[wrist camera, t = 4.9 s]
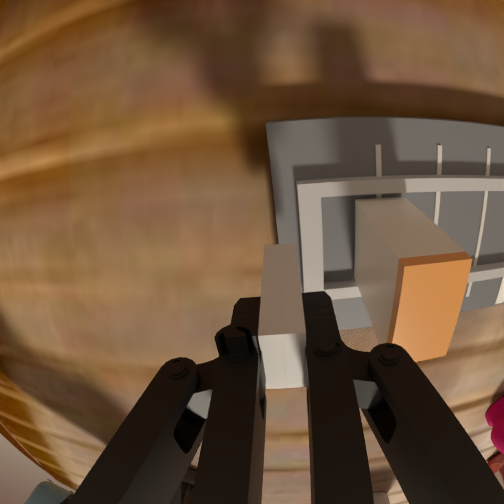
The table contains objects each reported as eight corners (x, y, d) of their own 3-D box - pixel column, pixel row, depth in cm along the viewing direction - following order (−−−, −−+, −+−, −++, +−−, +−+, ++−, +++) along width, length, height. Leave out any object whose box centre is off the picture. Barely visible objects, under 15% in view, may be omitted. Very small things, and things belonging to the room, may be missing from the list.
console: (286, 317, 23) (286, 342, 21) (266, 121, 17) (265, 124, 15) (540, 280, 20) (555, 295, 18) (564, 137, 14) (585, 145, 12)
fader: (354, 277, 19) (386, 366, 12) (355, 199, 17) (404, 266, 10) (398, 272, 18) (445, 355, 12) (403, 196, 16) (472, 258, 10)
